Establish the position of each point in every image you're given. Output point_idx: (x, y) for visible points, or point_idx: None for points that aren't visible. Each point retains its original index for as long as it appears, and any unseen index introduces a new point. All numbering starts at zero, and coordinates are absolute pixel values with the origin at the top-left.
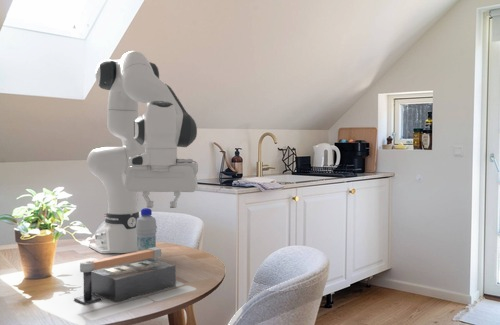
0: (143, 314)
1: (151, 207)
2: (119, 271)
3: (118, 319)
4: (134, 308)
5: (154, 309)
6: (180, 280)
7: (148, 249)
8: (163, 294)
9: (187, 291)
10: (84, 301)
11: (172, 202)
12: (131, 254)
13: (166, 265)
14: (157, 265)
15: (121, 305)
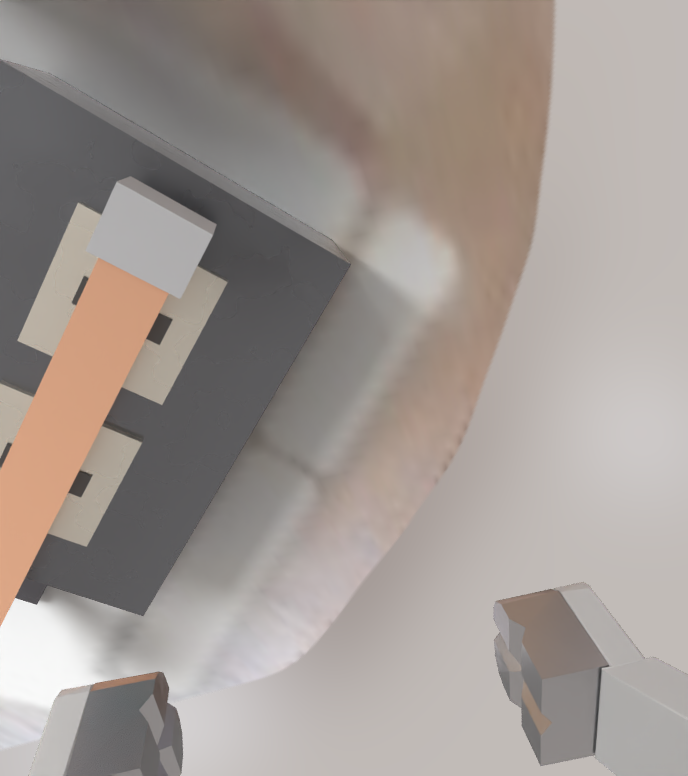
0: (339, 610)
1: (171, 730)
2: (72, 508)
3: (273, 667)
4: (276, 572)
5: (359, 560)
6: (319, 116)
7: (99, 261)
8: (321, 390)
9: (424, 317)
10: (29, 595)
11: (580, 748)
12: (64, 452)
13: (288, 279)
14: (225, 294)
15: (204, 560)
